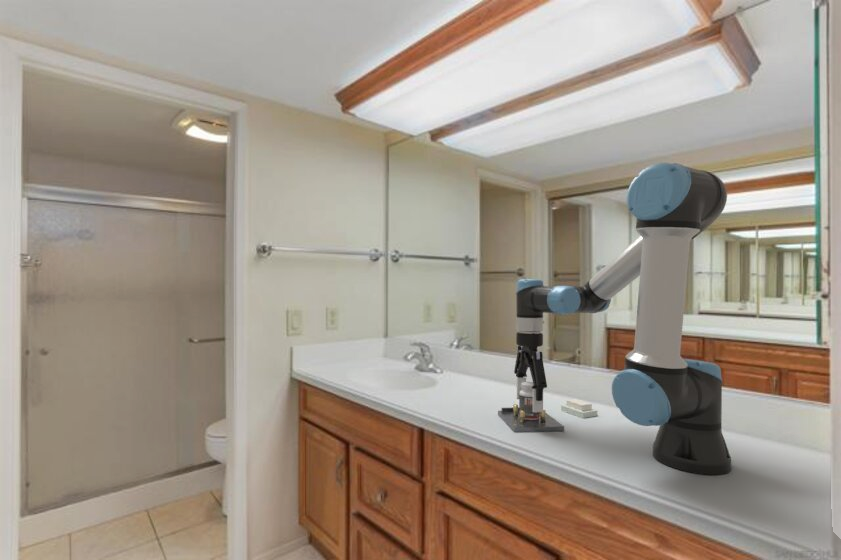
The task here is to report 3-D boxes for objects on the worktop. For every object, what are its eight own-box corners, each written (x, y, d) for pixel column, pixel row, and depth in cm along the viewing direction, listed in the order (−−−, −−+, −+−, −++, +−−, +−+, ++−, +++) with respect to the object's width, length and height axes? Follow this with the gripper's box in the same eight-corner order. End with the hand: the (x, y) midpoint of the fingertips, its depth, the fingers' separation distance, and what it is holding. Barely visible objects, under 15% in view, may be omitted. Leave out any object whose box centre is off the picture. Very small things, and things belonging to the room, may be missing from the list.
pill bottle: (540, 421, 122) (540, 386, 122) (519, 420, 123) (519, 385, 123) (538, 415, 127) (538, 381, 127) (518, 414, 128) (519, 381, 128)
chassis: (564, 430, 118) (564, 415, 118) (514, 432, 116) (514, 416, 116) (541, 413, 133) (541, 400, 134) (497, 414, 132) (497, 400, 132)
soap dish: (597, 415, 132) (597, 404, 132) (582, 418, 129) (583, 406, 129) (575, 408, 140) (575, 397, 140) (561, 410, 137) (561, 399, 137)
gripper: (560, 336, 113) (559, 417, 113) (527, 327, 138) (526, 394, 138) (532, 336, 113) (531, 418, 112) (504, 327, 137) (504, 394, 137)
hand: (529, 405), depth 125 cm, fingers open, 13 cm apart
